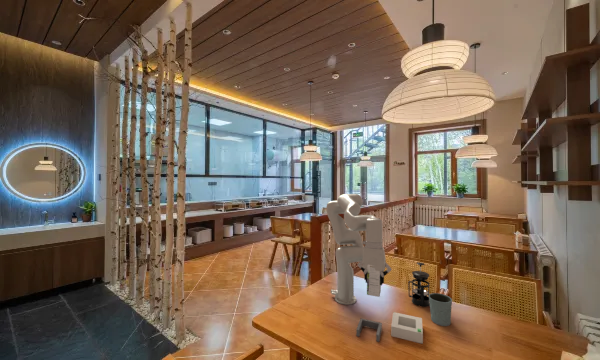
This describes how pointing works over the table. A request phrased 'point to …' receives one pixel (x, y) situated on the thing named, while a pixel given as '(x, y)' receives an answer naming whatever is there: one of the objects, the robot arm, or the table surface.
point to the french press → (419, 288)
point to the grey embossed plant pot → (440, 308)
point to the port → (407, 327)
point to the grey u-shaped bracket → (371, 325)
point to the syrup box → (373, 281)
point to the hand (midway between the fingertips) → (374, 282)
